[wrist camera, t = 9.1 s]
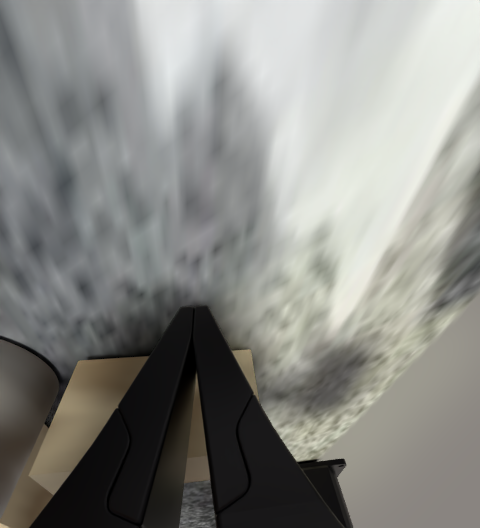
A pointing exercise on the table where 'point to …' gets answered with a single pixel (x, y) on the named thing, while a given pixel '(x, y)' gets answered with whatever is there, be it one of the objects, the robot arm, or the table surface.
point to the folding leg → (99, 411)
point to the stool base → (22, 432)
